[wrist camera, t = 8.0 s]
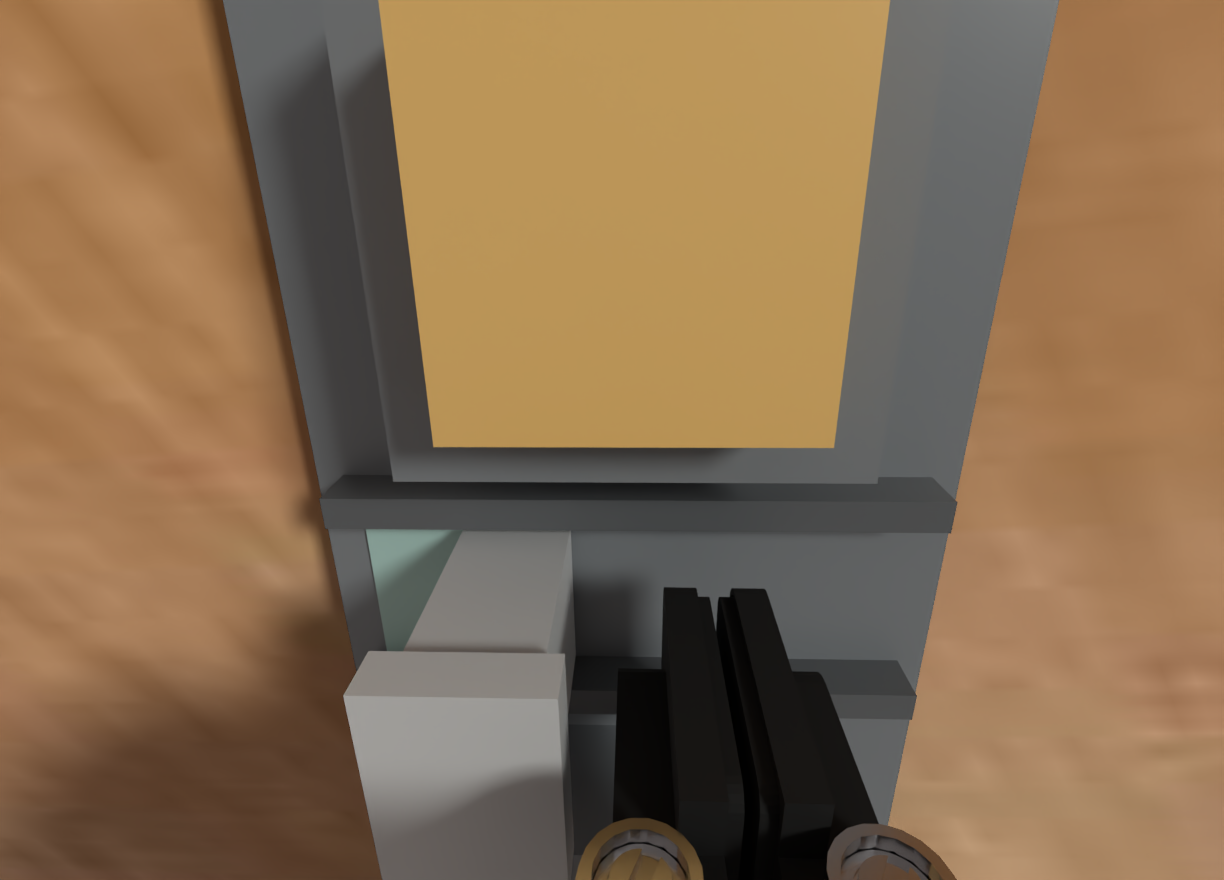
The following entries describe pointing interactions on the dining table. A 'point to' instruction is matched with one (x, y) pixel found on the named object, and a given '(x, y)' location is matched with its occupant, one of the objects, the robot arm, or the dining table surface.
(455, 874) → the slider knob
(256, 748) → the dining table surface
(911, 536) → the switch panel
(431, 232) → the tan yellow cube
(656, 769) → the robot arm
